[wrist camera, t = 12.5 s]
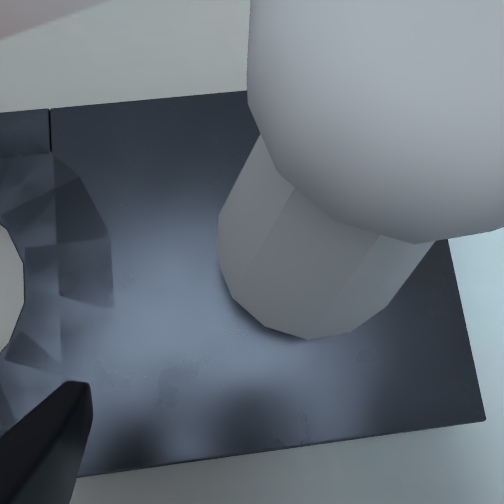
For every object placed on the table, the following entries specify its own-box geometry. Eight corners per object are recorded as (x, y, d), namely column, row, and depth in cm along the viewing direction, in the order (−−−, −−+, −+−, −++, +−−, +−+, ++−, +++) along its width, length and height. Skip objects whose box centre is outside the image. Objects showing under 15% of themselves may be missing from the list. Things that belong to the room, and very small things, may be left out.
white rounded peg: (397, 206, 18) (819, -185, 5) (361, 361, 16) (802, 376, 4) (243, 162, 18) (266, -329, 5) (196, 312, 16) (68, 164, 4)
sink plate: (392, 103, 21) (412, 70, 19) (455, 417, 18) (488, 426, 16) (-208, 161, 20) (-271, 133, 17) (-237, 512, 17) (-316, 538, 14)
